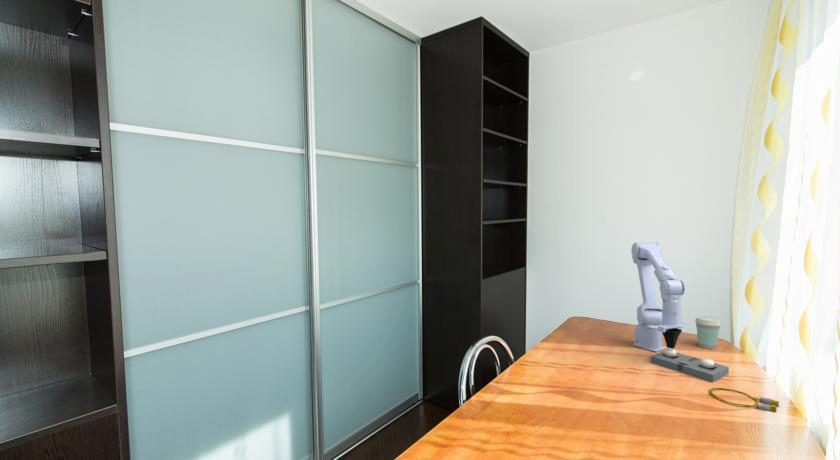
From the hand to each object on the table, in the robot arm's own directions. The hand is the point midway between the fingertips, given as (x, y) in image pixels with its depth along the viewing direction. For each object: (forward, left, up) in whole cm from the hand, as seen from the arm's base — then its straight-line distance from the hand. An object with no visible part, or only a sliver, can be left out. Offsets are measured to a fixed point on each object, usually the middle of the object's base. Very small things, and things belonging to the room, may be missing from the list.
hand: (670, 347), depth 144 cm
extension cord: (+26, -13, -6) cm, 30 cm away
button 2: (+12, 0, -3) cm, 12 cm away
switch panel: (+6, 0, -6) cm, 8 cm away
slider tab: (+6, -3, -3) cm, 7 cm away
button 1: (0, 0, -3) cm, 3 cm away
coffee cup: (0, +30, -6) cm, 31 cm away
